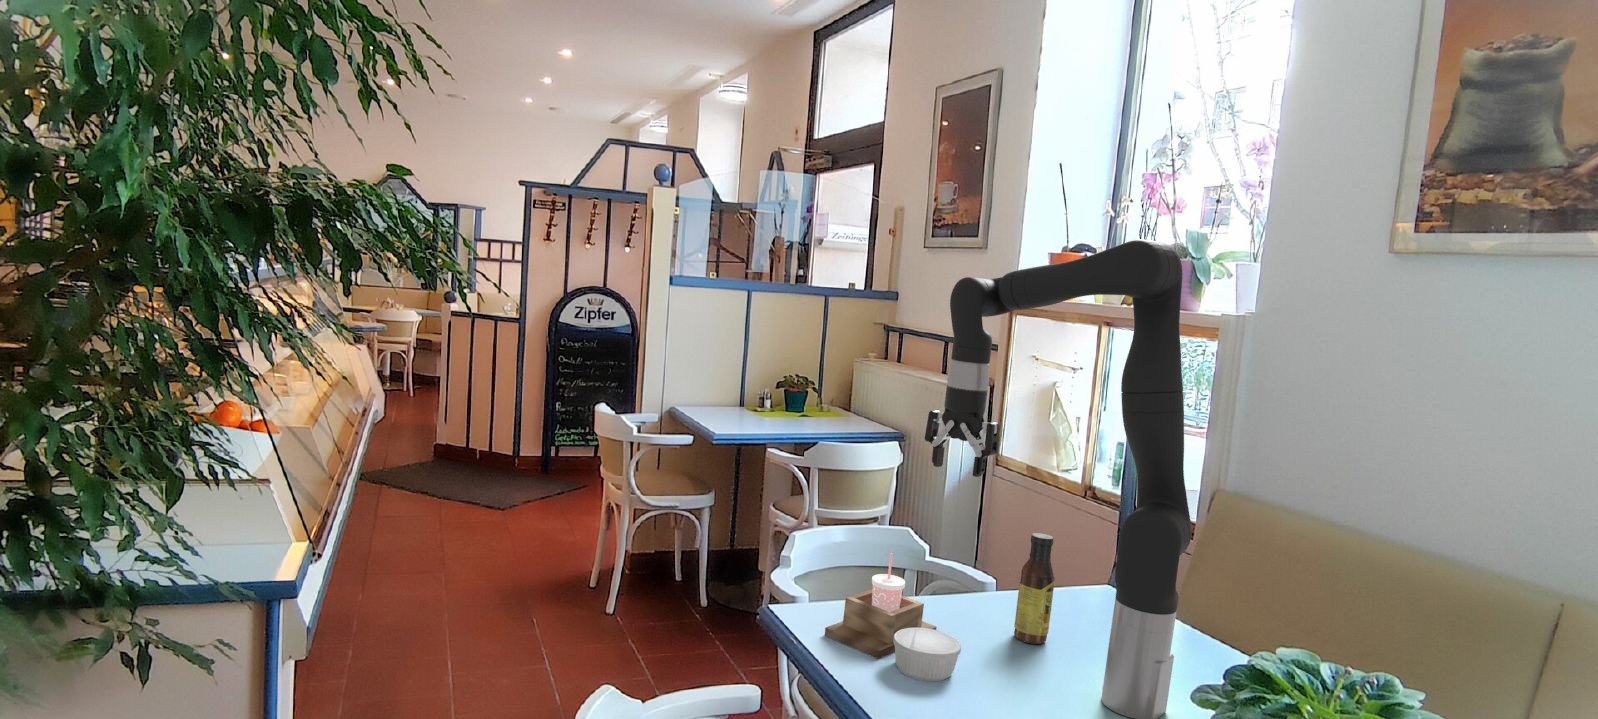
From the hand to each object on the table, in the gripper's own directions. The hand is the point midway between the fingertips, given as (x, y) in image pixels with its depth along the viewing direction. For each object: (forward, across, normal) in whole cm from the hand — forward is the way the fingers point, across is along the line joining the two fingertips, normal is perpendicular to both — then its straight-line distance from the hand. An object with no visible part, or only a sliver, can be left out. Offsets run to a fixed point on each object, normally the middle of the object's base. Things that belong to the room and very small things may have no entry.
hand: (956, 471), depth 170 cm
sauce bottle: (+30, -14, -10) cm, 35 cm away
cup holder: (+30, +4, +13) cm, 33 cm away
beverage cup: (+29, +4, +13) cm, 32 cm away
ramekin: (+30, -9, +19) cm, 37 cm away
